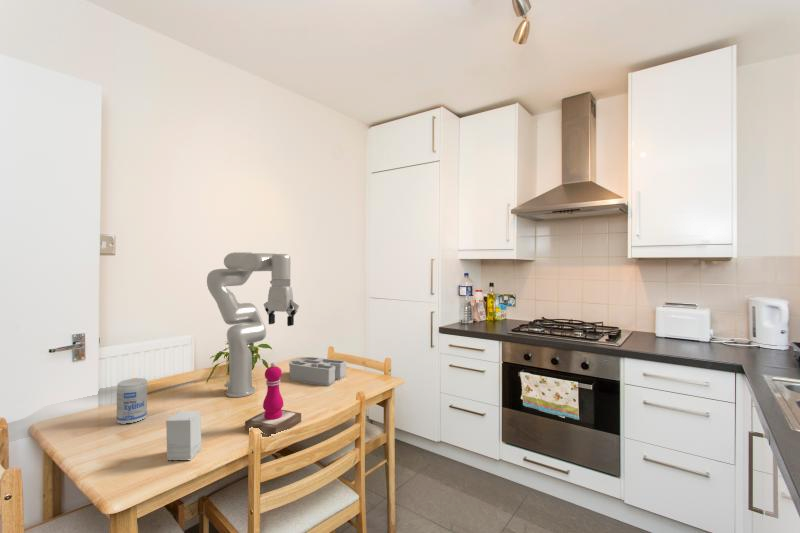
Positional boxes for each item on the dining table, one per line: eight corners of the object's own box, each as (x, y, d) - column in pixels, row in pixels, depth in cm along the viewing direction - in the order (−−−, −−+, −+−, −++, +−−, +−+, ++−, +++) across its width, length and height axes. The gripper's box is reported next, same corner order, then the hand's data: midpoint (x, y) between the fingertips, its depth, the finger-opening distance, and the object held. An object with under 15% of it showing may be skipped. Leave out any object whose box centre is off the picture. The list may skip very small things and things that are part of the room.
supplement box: (202, 449, 125) (202, 410, 124) (190, 461, 117) (190, 420, 117) (178, 449, 124) (178, 410, 124) (165, 461, 117) (165, 420, 117)
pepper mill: (277, 421, 138) (277, 365, 138) (259, 419, 140) (259, 364, 139) (287, 413, 145) (287, 360, 145) (269, 411, 147) (269, 359, 146)
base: (244, 430, 139) (244, 420, 138) (271, 415, 151) (271, 407, 151) (276, 437, 133) (276, 427, 133) (301, 421, 146) (301, 412, 146)
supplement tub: (124, 427, 140) (124, 387, 140) (111, 421, 145) (111, 383, 145) (152, 418, 149) (152, 380, 149) (139, 413, 154) (139, 376, 153)
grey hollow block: (328, 387, 186) (328, 369, 186) (282, 380, 197) (282, 363, 197) (346, 377, 202) (346, 361, 202) (302, 371, 213) (302, 355, 212)
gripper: (258, 283, 160) (258, 324, 160) (292, 284, 153) (292, 327, 154) (270, 282, 167) (270, 322, 167) (303, 283, 160) (303, 324, 161)
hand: (281, 324), depth 160 cm, fingers open, 9 cm apart
